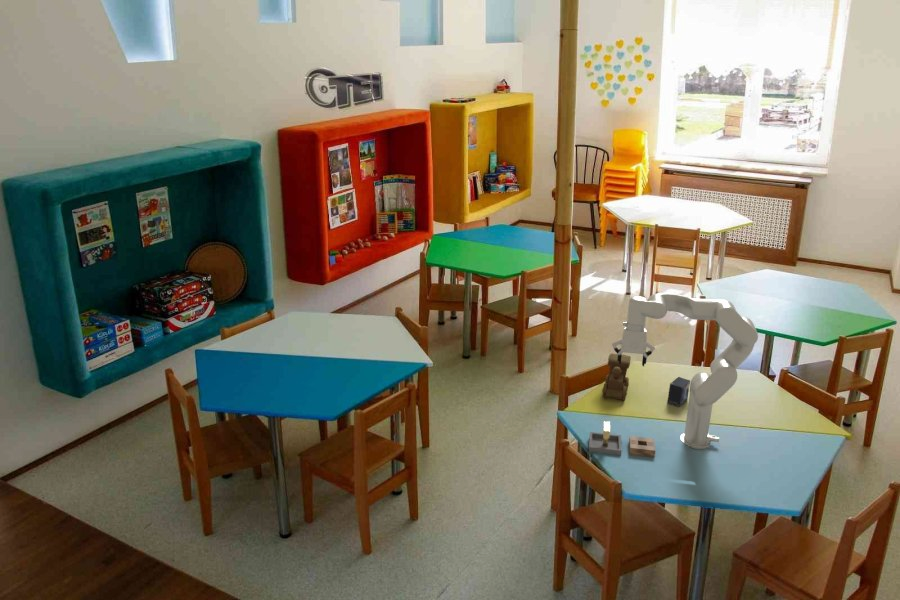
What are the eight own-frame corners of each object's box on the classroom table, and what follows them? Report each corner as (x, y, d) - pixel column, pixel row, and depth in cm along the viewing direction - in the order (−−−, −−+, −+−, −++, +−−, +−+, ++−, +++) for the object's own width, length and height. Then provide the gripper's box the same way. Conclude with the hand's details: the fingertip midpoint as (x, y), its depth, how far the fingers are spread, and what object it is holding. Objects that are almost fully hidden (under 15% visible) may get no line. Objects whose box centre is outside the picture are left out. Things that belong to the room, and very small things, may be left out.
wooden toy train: (605, 383, 386) (608, 352, 380) (629, 386, 383) (632, 355, 377) (600, 400, 368) (603, 368, 362) (625, 404, 365) (628, 372, 359)
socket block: (652, 447, 328) (653, 438, 326) (654, 459, 318) (655, 450, 317) (628, 444, 329) (629, 435, 328) (629, 456, 320) (630, 447, 319)
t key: (608, 450, 322) (609, 431, 319) (602, 449, 323) (603, 430, 320) (608, 440, 330) (610, 421, 327) (602, 440, 330) (604, 421, 327)
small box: (679, 407, 363) (682, 387, 359) (666, 403, 367) (669, 383, 363) (688, 400, 371) (691, 380, 367) (675, 396, 375) (677, 376, 371)
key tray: (620, 441, 331) (620, 435, 330) (620, 457, 319) (621, 450, 318) (589, 438, 334) (589, 431, 333) (588, 453, 321) (589, 447, 320)
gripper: (614, 327, 319) (610, 365, 325) (657, 331, 316) (653, 369, 322) (614, 320, 326) (610, 358, 332) (656, 324, 323) (651, 362, 329)
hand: (631, 363), depth 327 cm, fingers open, 9 cm apart
